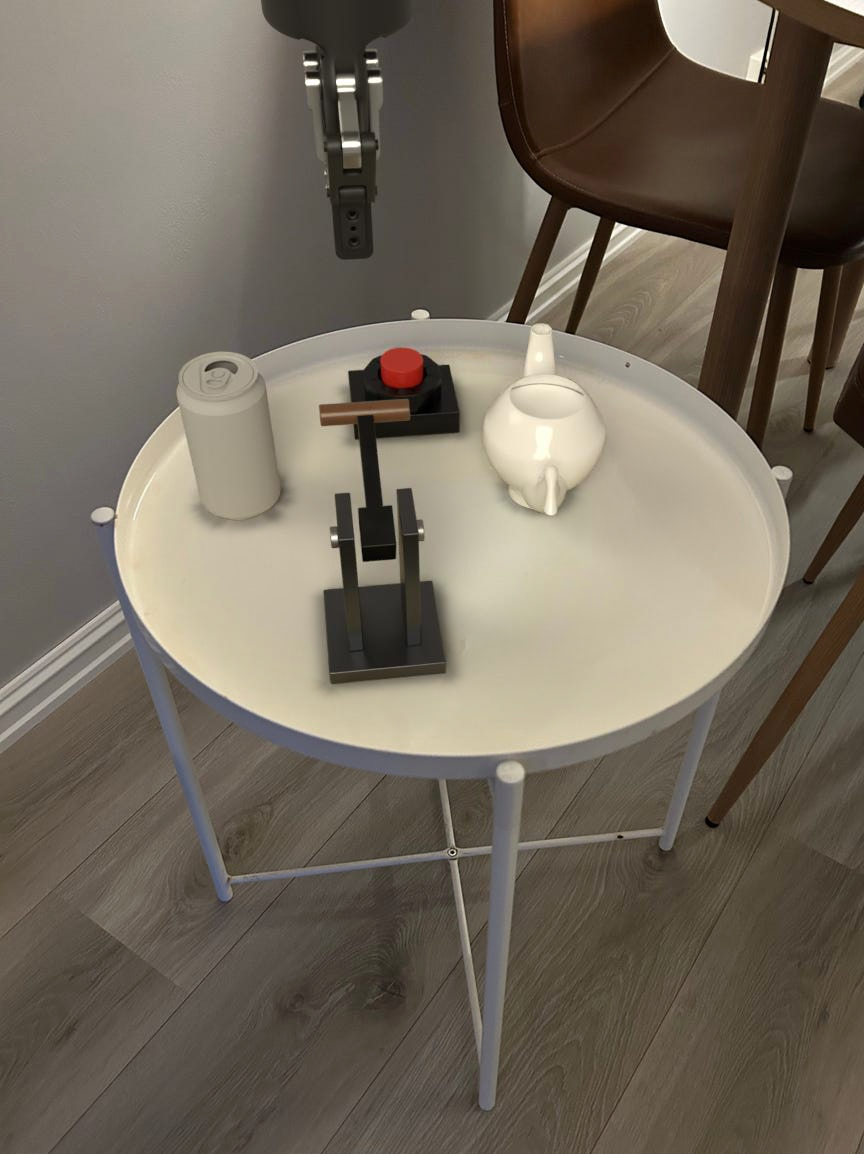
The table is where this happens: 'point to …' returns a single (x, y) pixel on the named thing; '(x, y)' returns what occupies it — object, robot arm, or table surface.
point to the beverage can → (229, 434)
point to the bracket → (382, 608)
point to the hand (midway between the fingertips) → (354, 252)
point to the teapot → (543, 430)
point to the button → (401, 368)
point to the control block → (410, 400)
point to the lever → (370, 470)
